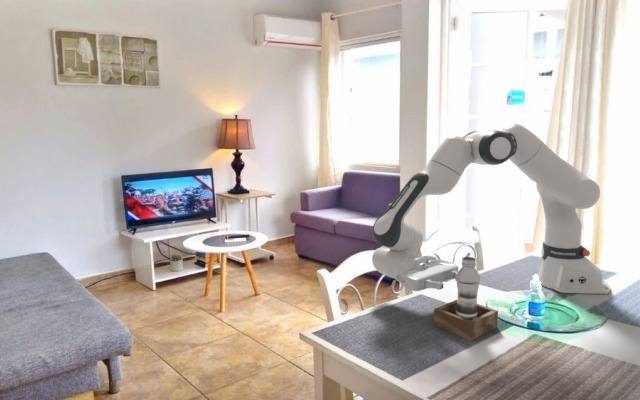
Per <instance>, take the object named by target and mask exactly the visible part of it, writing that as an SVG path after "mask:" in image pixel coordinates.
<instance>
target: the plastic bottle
mask: <svg viewBox="0 0 640 400" xmlns="http://www.w3.org/2000/svg"><path fill="white" fill-rule="evenodd" d="M461 260H462V261H461V268H459V269H458V273H457V276H456V277H457V281H456V285H457V299H456V300H457V307H456V311H455V315H457V316H460V317H462V318H465V319H468V320H470V321H471V320H473V319H475V318H477V317H478V313H477V304H478V302H477V301H478V290H479V286H480V282H481V276H480V274H479V272H478V270H477V269H476V266H477V263H476V262H477V261H476V258H475V257H472V256H464V257H462V259H461Z"/></svg>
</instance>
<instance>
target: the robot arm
mask: <svg viewBox="0 0 640 400" xmlns="http://www.w3.org/2000/svg"><path fill="white" fill-rule="evenodd" d="M509 160H510V162H512V164H514V165H515V166H516V167H517V168H518V169H519V170H520V171H521V172H522V173H523V174H524V175H526V176H527V177H528V179H530V180H531V181H533V182H534V183H536V184H535V185H536V187H535V188H536V190H537V192H538V193H539V196H540V198H541V203H542V207H543V213H544V220H545V223H544V224H545V225H544V226H545V227H544V241H543V242H542V247H541V260H542V261H541V265H540V269H539V271H538V272H539V273H538V275H537V277H538V276H539V279H540V281H541V283H542V285H541V286H543V287H544V288H548V289H550V290H554V291H557V292H559V293H562V294H588V295H589V294H593V295H594V294H596V295H597V294H599V295H600V294H601V295H608V294H609V293H610V292H611V287H610V285H609V284H608V282H606V281H605V280H604V277H603V274H602V271H601V269H600V268H599V266H597V265H596V264H595V263H594V262H592V260H590V259H589V258H588V257H589V256H590V255H591V252H590V251H589V249H587V248H586V247H584V246H583V245H581V239H582V227H583V226H582V221H581V220H580V218H579V216H578V213H577V209H578V210H579V209H580V210H582V209H583V210H584V209H585V210H586V209H589V208H592V207H594V205H595V204H597V203H598V200H599V199H600V197H601V196H600V195H601V189H600V187H599V184H598V183H597V182H596V181H594V180H593V179H591V178H590V177H588V176H586V175H585V174H584V173H583V172H581V171H579V169H577V168H576V167H575V166H573V165H572V164H571V163H569V162H567V161H566V160H564V159H563V158H562V157H560V156H559V155H557V153H555V152H554V151H553V150H552V149H551V148H550V147H549V146H548V145H547V144H546V143H544V141H542V139H540V138H539V137H538V136H537V135H536V134H535V133H533V132H532V131H531V130H529V129H528V128H526V127H524V126H523V125H521V124H519V123H511V124H508V125H507V126H505V127H503V128H502V129H501V130H491V129H483V130H475V131H471V132H469V133H467V134H465V135H463V137H462V136H459V135H451V136H448V137H446V138H445V139H444V141H443V142H441V144H440V145H439V147H438V148H437V149H436V151H435V152H434V153H433V155H432V157H431V158H430V160H429V161H428V163H427V164H426V166H425V167H424V168H423V169H422V170H421V171H420V172H418V173H416V174H413V176H411V178H409V180H408V181H407V182H406V183H405V185H404V186H403V187H402V189H401V190H400V192H399V193H398V194H397V195H396V197H395V198H394V199H393V201H392V202H391V203H390V205H388V207H387V208H386V210H385V211H384V212H383V213H382V214H381V215H380V216H378V218H377V219H376V220H375V222H374V223H373V226H372V238H373V240H374V241H375V243H376V244H377V245H379V246H380V247H379V248H376V249H375V250H374V251H373V254H372V257H371V261H372V266H373V267H374V269H375V270H376V271H377V272H378V273H380V274H381V275H384V276H386V277H389V278H392V279H394V280H395V281H396V282H399V283H400V285H402V286H403V287H404V288H406V289H408V290H410V291H413V292H420V291H422V290H425V289H434V290H435V289H436V290H438V291H439V290H442V289H444V282H447V281H449V280H453V279H454V280H455V282H457V277H456V276H457V273H458V271H459V266H458V265H457V264H456V263H454V262H451V261H448V260H444V259H438V258H437V256H434V255H424V256H421V255H418V254H419V252H420V250H421V247H422V246H423V234H422V233H421V231H420V230H419V228H416V227H415V226H413V225H411V224H410V223H408V222H405V221H404V220H405V218H406V216H408V215H409V213H410V211H411V210H412V208H413V207H414V206H415V204H416V203H417V202H418V201H419V200H420V199H421V198H422V197H424V196H441V195H446V194H448V193H451V191H452V190H453V189H454V188H455V187H456V186H457V184H458V182H459V181H460V179H461V177H462V175H463V174H464V172H465V171H466V168H467V167H468V166H469V165H470V164H472V163H473V164H478V165H483V166H486V165H487V166H489V165H490V166H495V165H496V166H497V165H501V164H503V163H505V162H507V161H509Z"/></svg>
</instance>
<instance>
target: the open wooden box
mask: <svg viewBox="0 0 640 400" xmlns="http://www.w3.org/2000/svg"><path fill="white" fill-rule="evenodd" d="M456 307H457V299H455V300H453V301H450V302H448V303H445V304H443V305H440V306H437V307H436V308H435V307H434V310H433V326H435V327H437V328H439V329H442V330H443V331H446V332H449V333H451V334H453V335H456V336H458V337H460V338H464V339H466V340H469V341H470V342H471V341H473V340H476V339H477V338H479V337H481V336H484V335H485V334H487V333H490V332H491V331H493V330H495V329H498V321H499V320H498V318H499V317H498V315H499V311H498V310H497V309H495V308H490V307H488V306H485V305H482V304H479V303H477V313H478V317H477V318H475V319H473V320H471V321H470V320H468V319H465V318H462V317H460V316H457V315H455V311H456Z"/></svg>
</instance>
